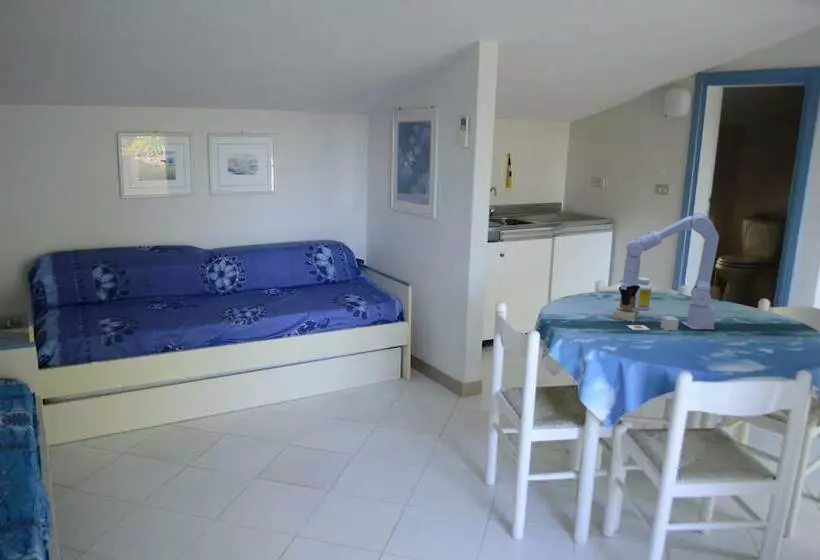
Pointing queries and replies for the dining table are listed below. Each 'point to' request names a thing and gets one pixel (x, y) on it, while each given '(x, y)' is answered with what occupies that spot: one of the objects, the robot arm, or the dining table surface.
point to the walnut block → (631, 303)
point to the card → (638, 327)
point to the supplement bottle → (643, 294)
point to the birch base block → (626, 314)
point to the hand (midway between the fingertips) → (627, 303)
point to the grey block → (669, 323)
